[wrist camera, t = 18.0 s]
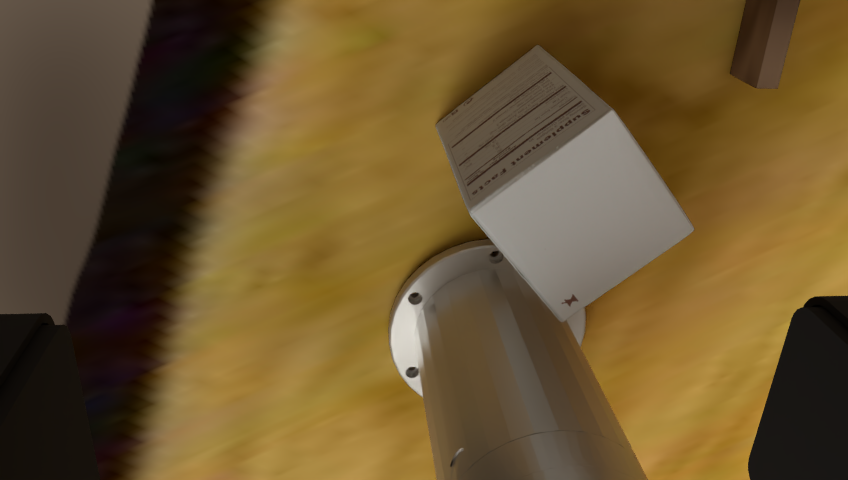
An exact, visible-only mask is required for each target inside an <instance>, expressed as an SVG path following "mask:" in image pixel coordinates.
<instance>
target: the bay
mask: <svg viewBox="0 0 848 480" xmlns="http://www.w3.org/2000/svg"><path fill="white" fill-rule="evenodd" d="M799 3H800V0H746V5H745V9H744V14H743V18H742V23H741V27H740V31H739V36H738V40H737V45H736V49H735V54H734V58H733V63H732V67H731V72H730V75H732V76H734V77H736V78H738V79H740V80H742V81H744V82H745V83H747V84H749V85H751V86H753V87H755V88H768V89H778V85H779V81H780V78H781V74H782V70H783V66H784V62H785V58H786V54H787V50H788V46H789V42H790V38H791V34H792V30H793V26H794V23H795V19H796V15H797V11H798V7H799Z"/></svg>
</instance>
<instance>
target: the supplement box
mask: <svg viewBox="0 0 848 480" xmlns="http://www.w3.org/2000/svg"><path fill="white" fill-rule="evenodd" d="M436 129H437V132H438V134H439V137H440V139H441V142H442V144H443V147H444V149H445V152H446V155H447V157H448V160H449V163H450V165H451V168H452V171H453V173H454V176H455V179H456V182H457V184H458V187H459V190H460V192H461V195H462V198H463V200H464V202H465V205H466V207H467V209H468V212H469V214H470V216H471V217H472V218H473V220H474V221H475V222H476V223H477V224H478V225H479V227H480V228H481V229H482V230H483V231H484V232H485V234H486V235H487V236H488V237H489V238H490V240H491V241H492V242H493V243H494V244H495V245H496V247H497V248H498V249H499V250H500V251H501V252H502V254H503V255H504V256H505V257H506V258H507V260H508V261H509V262H510V263H511V264H512V266H513V267H514V268H515V269H516V271H517V272H518V273H519V274H520V276H521V277H522V278H523V279H525V281H526V282H527V283H528V284H529V285H530V286H531V288H532V289H533V290H534V291H535V292H536V293H537V295H538V296H539V297H540V298H541V299H542V301H543V302H544V303H545V304H546V305H547V307H548V308H549V309H550V310H551V311H552V313H553V314H554V315H555V316H556V317H557V319H558V320H559V321H560V322H564V321H565V320H566V319H568V318H569V317H571V316H572V315H573V314H575V313H576V312H578V311H580V310H581V309H583V308H584V307H586V306H587V305H588V304H590V303H591V302H593V301H594V300H596V299H597V298H599V297H600V296H602V295H603V294H604V293H606V292H607V291H609V290H610V289H612V288H613V287H615V286H616V285H618V284H619V283H621V282H622V281H623V280H625V279H626V278H628V277H629V276H630V275H632V274H633V273H635V272H636V271H638V270H639V269H641V268H642V267H644V266H645V265H647V264H648V263H649V262H651V261H652V260H654V259H655V258H657V257H658V256H659V255H661V254H662V253H664V252H665V251H667V250H668V249H670V248H671V247H673V246H674V245H676V244H677V243H678V242H680V241H681V240H683V239H684V238H685V237H687V236H688V235H689V234H690V233H692V232H693V231H694V227H693V225H692V224H691V222H690V220H689V219H688V217H687V215H686V214H685V212H684V211H683V209H682V208H681V206H680V205H679V203H678V202H677V200H676V199H675V197H674V196H673V194H672V193H671V191H670V190H669V188H668V187H667V185H666V184H665V182H664V181H663V179H662V178H661V176H660V175H659V173H658V172H657V170H656V169H655V167H654V166H653V164H652V163H651V161H650V160H649V159H648V157H647V156H646V154H645V153H644V151H643V150H642V148H641V147H640V145H639V144H638V143H637V141H636V140H635V138H634V137H633V135H632V134H631V132H630V131H629V130H628V128H627V127H626V125H625V124H624V123H623V121H622V120H621V119H620V117H619V116H618V114H617V113H616V112H615V110H614V109H613V108H611V107H610V106H609V105H608V104H607V103H605V102H604V101H603V100H602V99H601V98H600V97H598V96H597V95H596V94H595V93H594V92H593V91H591V90H590V89H589V88H588V87H587V86H586V85H585V84H584V83H583V82H582V81H581V80H579V79H578V78H577V77H576V76H575V75H574V74H573V73H571V72H570V71H569V70H568V69H567V68H566V67H564V66H563V65H562V64H561V63H560V62H558V61H557V60H556V59H555V58H554V57H552V56H551V55H550V54H549V53H548V52H546V51H545V50H544V49H543V48H542V47H541V46H539V45H536V46H535V47H534V48H532V49H531V50H530V51H529V52H528V53H526V54H525V55H524V56H522V57H521V58H520V59H518V60H517V61H516V62H514V63H513V64H512V65H511V66H509V67H508V68H507V69H505V70H504V71H503V72H502V73H501V74H499V75H498V76H497V77H495V78H494V79H493V80H491V81H490V82H489V83H488V84H486V85H485V86H484V87H482V88H481V89H480V90H479V91H477V92H476V93H475V94H474V95H472V96H471V97H470V98H468V99H467V100H466V101H464V102H463V103H462V104H461V105H460V106H458V107H457V108H456V109H454V110H453V111H452V112H451V113H449V114H448V115H447V116H445V117H444V118H443V119H442V120H441V121H439V122H438V123H437V124H436Z"/></svg>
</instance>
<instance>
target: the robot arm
mask: <svg viewBox="0 0 848 480" xmlns="http://www.w3.org/2000/svg"><path fill="white" fill-rule="evenodd" d="M493 251H497V252H496V253H493V254H492V252H493ZM414 292H417V293H416V294H411V293H414ZM585 325H586V312H585V307H584V308H583V309H581V310H580V311H578V312H576V313H575V314H573V315H572V316H571V317H569V318H568V319H566V320H565V321H564V322H560V321H559V320H558V319H557V317H556V316H555V315H554V314H553V313H552V311H551V310H550V309H549V308H548V307H547V305H546V304H545V303H544V302H543V301H542V299H541V298H540V297H539V296H538V295H537V293H536V292H535V291H534V290H533V289H532V288H531V286H530V285H529V284H528V283H527V282H526V281H525V279H523V278H522V277H521V276H520V274H519V273H518V272H517V271H516V269H515V268H514V267H513V266H512V264H511V263H510V262H509V261H508V260H507V258H506V257H505V256H504V255H503V254H502V252H501V251H500V250H499V249H498V248H497V247H496V245H495V244H494V243H493V242H492V241H491V240H490V239H485V240H478V241H471V242H467V243H464V244H461V245H458V246H455V247H451V248H449V249H447V250H445V251H443V252H442V253H440V254H438V255H436V256H434V257H432V258H431V259H430V260H428V261H427V262H426V263H424V264H423V265H422V266H420V267H419V268H418V269H417V270H416V271H415V272H414V273H413V274H412V275H411V277H410V278H409V279H408V280H407V281H406V282H405V284H404V285H403V287H402V288H401V290H400V292H399V293H398V295H397V297H396V299H395V302H394V304H393V307H392V310H391V313H390V320H389V327H388V332H389V345H390V350H391V355H392V359H393V362H394V364H395V366H396V368H397V370H398V372H399V374H400V375H401V377H402V378H403V379H404V381H405V382H406V383H407V384H408V386H409V387H410V388H412V389H413V390H414V391H415V392H416V393H418V394H419V395H420V396H421V397H423V400H424V406H425V412H426V418H427V424H428V430H429V436H430V442H431V448H432V454H433V460H434V466H435V472H436V478H437V480H648V479H647V477H646V475H645V473H644V471H643V469H642V467H641V465H640V463H639V461H638V459H637V457H636V455H635V453H634V451H633V450H632V448H631V445H630V443H629V441H628V440H627V438H626V436H625V434H624V432H623V430H622V428H621V426H620V424H619V422H618V420H617V418H616V416H615V414H614V412H613V410H612V408H611V406H610V404H609V402H608V400H607V398H606V396H605V394H604V392H603V391H602V389H601V387H600V385H599V383H598V381H597V379H596V377H595V375H594V373H593V371H592V369H591V367H590V365H589V363H588V361H587V359H586V357H585V355H584V353H583V351H582V349H581V345H582V341H583V337H584V334H585ZM748 471H749V477H750V480H848V296H819V297H813V298H811V299H809V300H808V301H807V302H806V303H805V305H804V307H803V308H800V309H798V310H797V311H796V312H795V313H794V315H793V317H792V319H791V323H790V326H789V329H788V332H787V336H786V339H785V342H784V345H783V349H782V352H781V355H780V359H779V362H778V365H777V368H776V372H775V375H774V378H773V381H772V385H771V388H770V391H769V395H768V398H767V401H766V404H765V408H764V411H763V414H762V417H761V421H760V424H759V427H758V431H757V434H756V437H755V440H754V444H753V447H752V450H751V453H750V457H749V462H748ZM0 480H100V477H99V472H98V467H97V462H96V457H95V452H94V447H93V442H92V437H91V432H90V427H89V422H88V417H87V412H86V408H85V403H84V398H83V393H82V388H81V383H80V378H79V373H78V368H77V363H76V358H75V353H74V348H73V343H72V338H71V335H70V331H69V329H68V328H67V326H65V325H55V324H54V321H53V319H52V318H51V316H50V315H48V314H46V313H43V314H42V313H40V314H0Z"/></svg>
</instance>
